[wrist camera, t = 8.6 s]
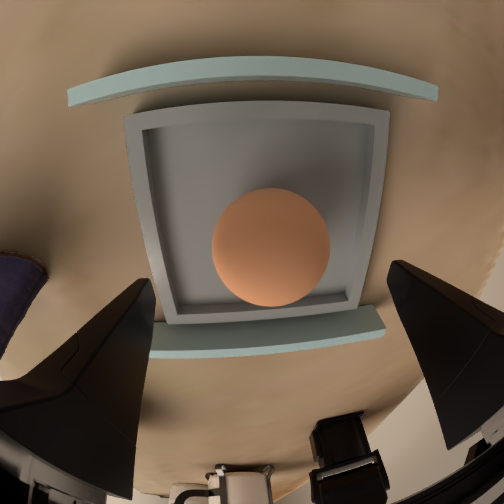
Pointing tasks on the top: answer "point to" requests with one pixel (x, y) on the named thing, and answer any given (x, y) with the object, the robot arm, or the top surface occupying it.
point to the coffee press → (234, 487)
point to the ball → (270, 247)
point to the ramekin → (178, 488)
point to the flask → (17, 290)
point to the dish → (249, 179)
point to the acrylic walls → (268, 330)
